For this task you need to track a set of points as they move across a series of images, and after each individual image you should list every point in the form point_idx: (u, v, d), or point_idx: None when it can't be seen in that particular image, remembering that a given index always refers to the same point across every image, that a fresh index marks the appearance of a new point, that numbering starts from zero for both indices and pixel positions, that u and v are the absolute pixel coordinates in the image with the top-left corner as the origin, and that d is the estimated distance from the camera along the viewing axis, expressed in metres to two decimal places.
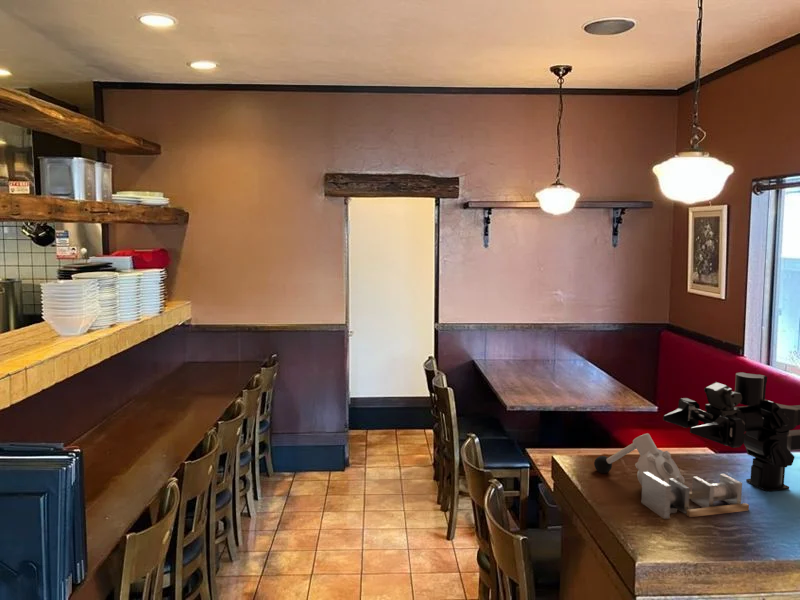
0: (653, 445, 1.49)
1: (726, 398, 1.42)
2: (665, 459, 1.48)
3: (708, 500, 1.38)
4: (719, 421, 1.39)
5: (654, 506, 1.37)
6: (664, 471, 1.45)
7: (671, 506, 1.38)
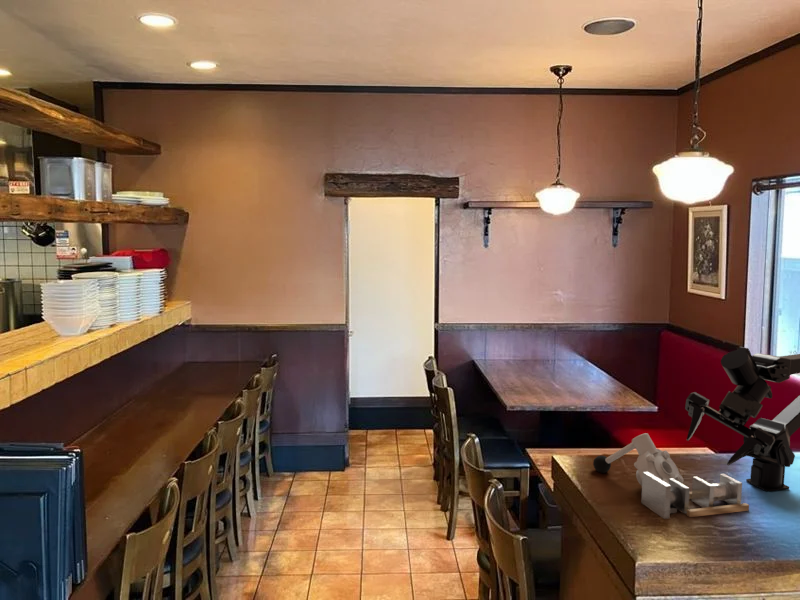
0: (652, 445, 1.49)
1: (750, 415, 1.37)
2: (664, 459, 1.48)
3: (708, 500, 1.38)
4: (751, 444, 1.37)
5: (654, 506, 1.37)
6: (663, 471, 1.45)
7: (671, 506, 1.38)
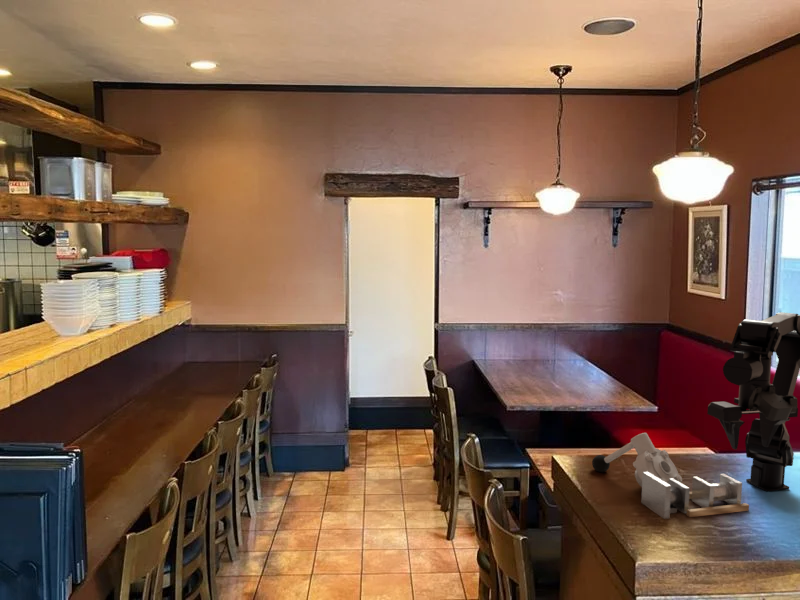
0: (651, 444, 1.49)
1: None
2: (663, 458, 1.48)
3: (708, 500, 1.38)
4: (780, 423, 1.41)
5: (654, 506, 1.37)
6: (662, 470, 1.45)
7: (671, 506, 1.38)
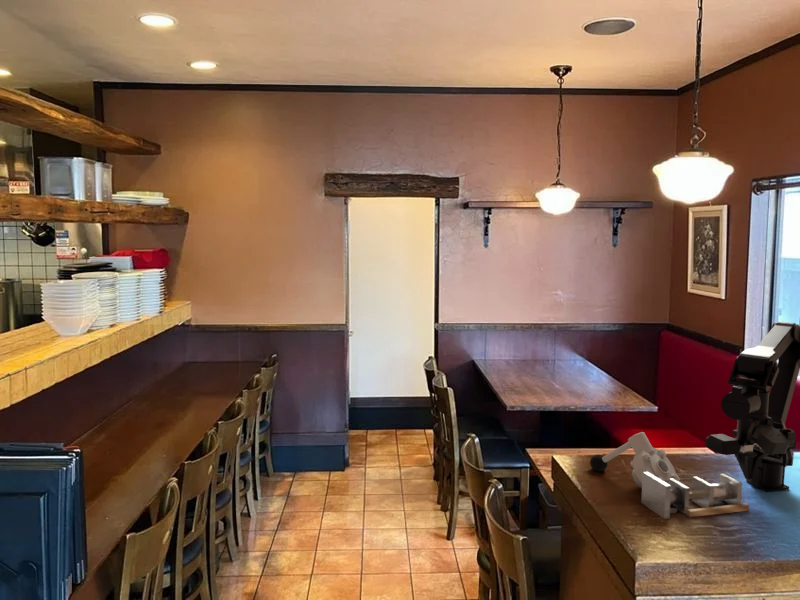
0: (648, 444, 1.50)
1: None
2: (660, 457, 1.49)
3: (708, 500, 1.38)
4: (764, 456, 1.41)
5: (654, 506, 1.37)
6: (659, 469, 1.46)
7: (671, 506, 1.38)
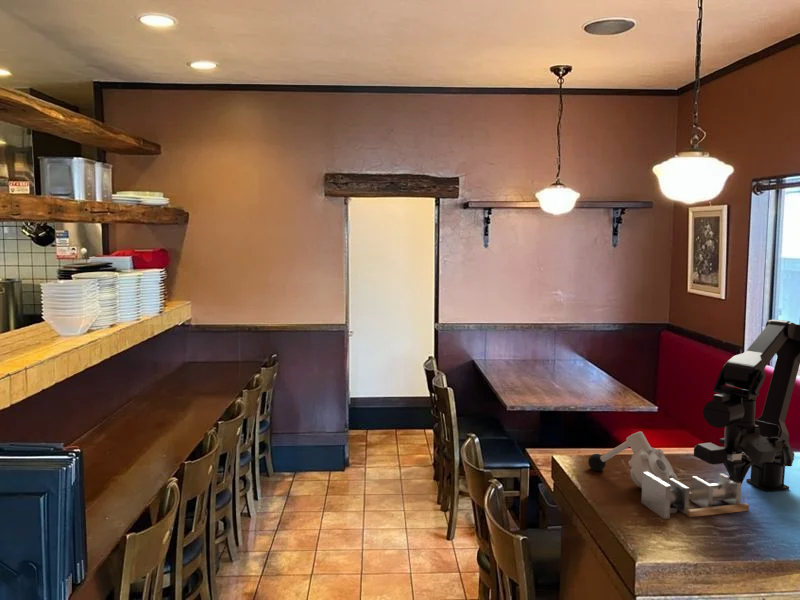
0: (646, 443, 1.50)
1: None
2: (658, 457, 1.49)
3: (707, 500, 1.38)
4: (751, 464, 1.40)
5: (654, 506, 1.37)
6: (657, 469, 1.46)
7: (671, 506, 1.38)
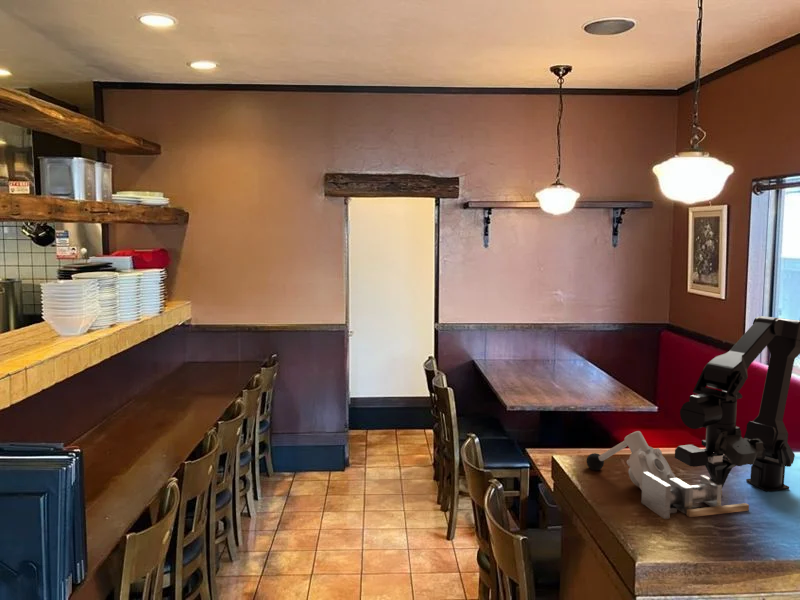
0: (644, 442, 1.50)
1: None
2: (656, 456, 1.50)
3: None
4: (733, 466, 1.39)
5: (654, 506, 1.37)
6: (655, 468, 1.46)
7: (671, 506, 1.38)
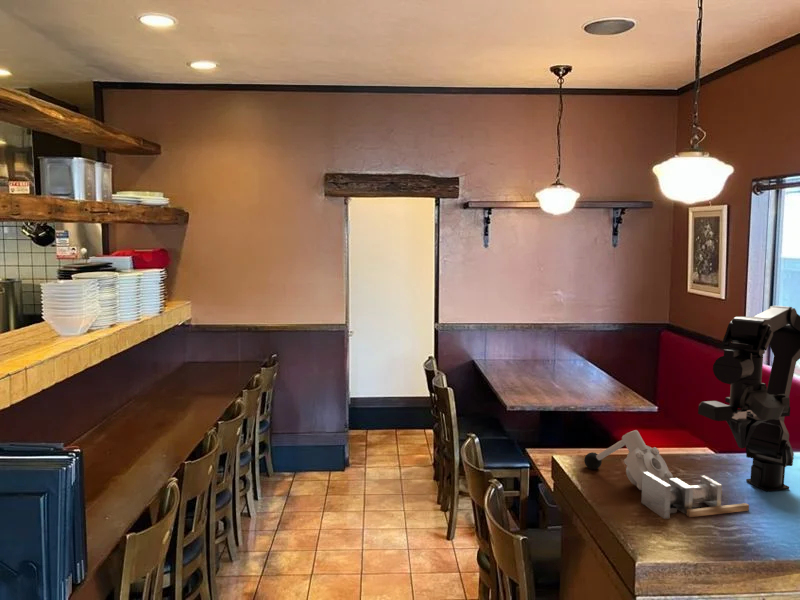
0: (642, 441, 1.51)
1: None
2: (653, 455, 1.50)
3: None
4: (757, 423, 1.37)
5: (654, 506, 1.37)
6: (652, 467, 1.47)
7: (671, 506, 1.38)
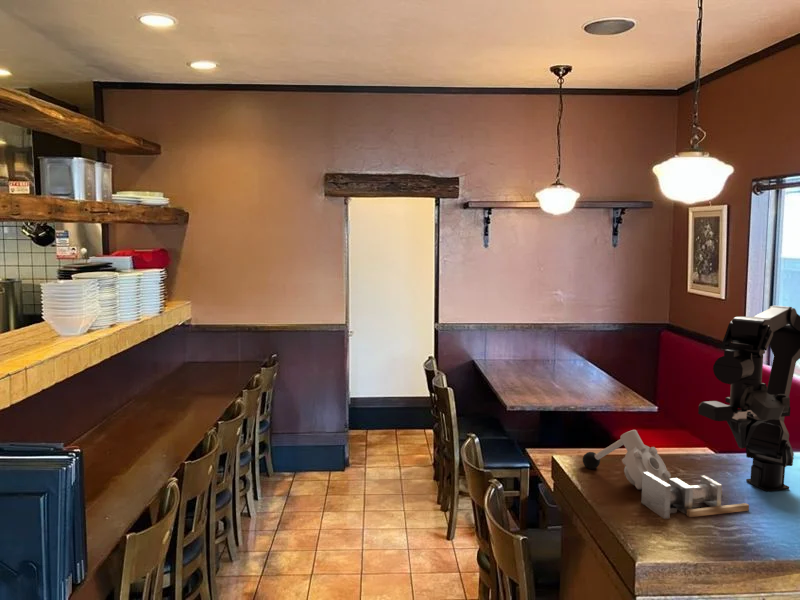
0: (640, 441, 1.51)
1: None
2: (651, 455, 1.51)
3: None
4: (758, 423, 1.37)
5: (654, 506, 1.37)
6: (650, 466, 1.47)
7: (671, 506, 1.38)
